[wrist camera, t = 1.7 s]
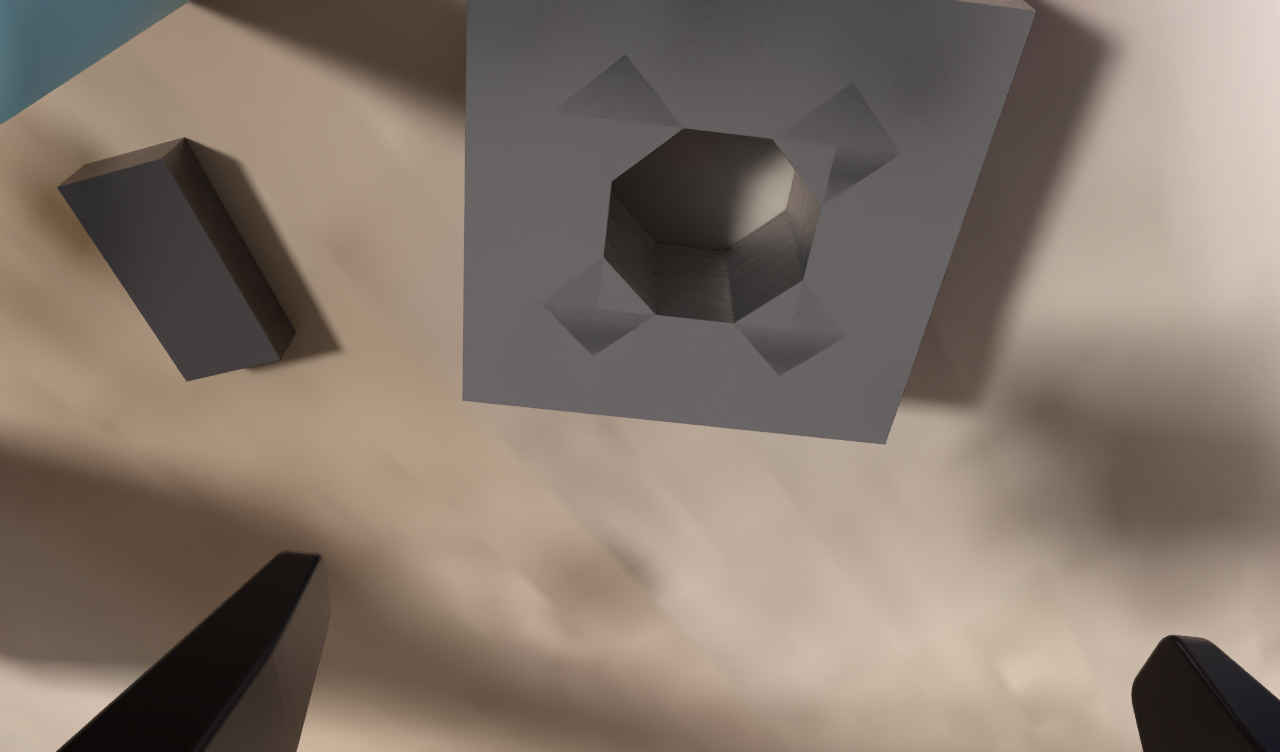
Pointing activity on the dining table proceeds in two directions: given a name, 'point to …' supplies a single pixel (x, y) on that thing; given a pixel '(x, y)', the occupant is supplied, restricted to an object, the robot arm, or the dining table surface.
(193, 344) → the charcoal rectangular brick
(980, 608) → the dining table surface
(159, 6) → the round bit
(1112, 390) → the dining table surface
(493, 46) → the socket block
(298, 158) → the dining table surface
